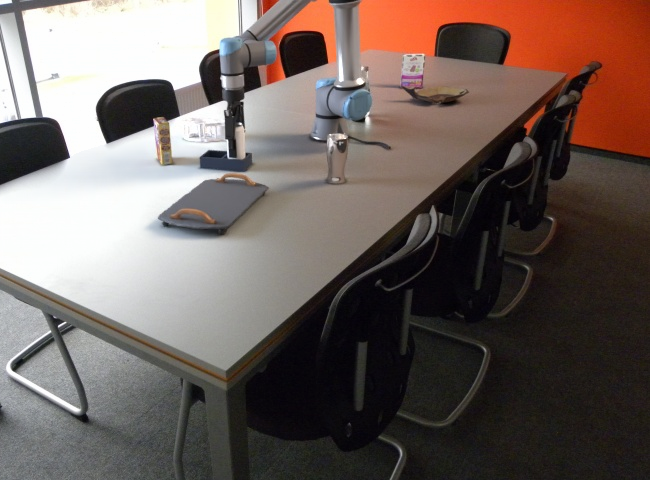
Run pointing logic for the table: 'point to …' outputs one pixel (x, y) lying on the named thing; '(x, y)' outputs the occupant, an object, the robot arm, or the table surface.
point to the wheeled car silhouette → (204, 129)
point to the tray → (224, 161)
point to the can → (239, 142)
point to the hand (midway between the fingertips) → (236, 154)
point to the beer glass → (336, 157)
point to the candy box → (163, 140)
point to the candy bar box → (412, 70)
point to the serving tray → (214, 203)
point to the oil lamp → (437, 93)
